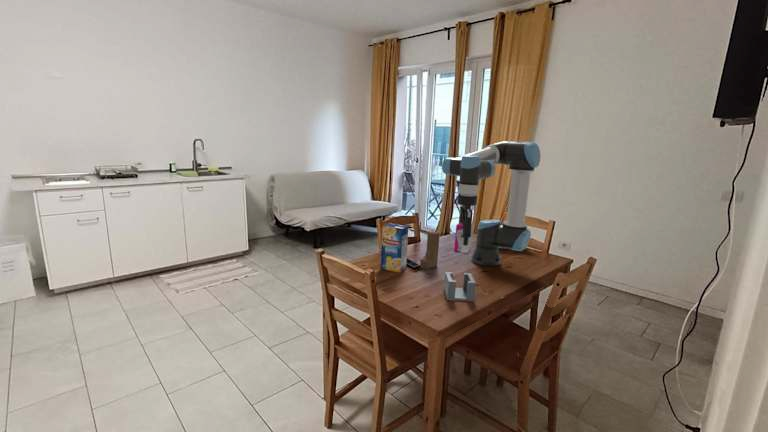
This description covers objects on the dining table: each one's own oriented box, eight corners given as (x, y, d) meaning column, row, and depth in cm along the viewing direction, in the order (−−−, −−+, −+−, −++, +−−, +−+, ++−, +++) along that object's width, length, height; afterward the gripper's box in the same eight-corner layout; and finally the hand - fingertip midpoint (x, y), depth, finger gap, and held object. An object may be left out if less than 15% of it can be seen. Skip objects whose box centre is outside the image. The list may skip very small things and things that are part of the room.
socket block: (469, 290, 161) (470, 273, 160) (474, 301, 151) (476, 283, 149) (443, 289, 162) (445, 271, 160) (447, 299, 151) (448, 281, 149)
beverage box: (400, 272, 179) (402, 228, 174) (380, 268, 184) (382, 225, 179) (406, 268, 185) (408, 226, 180) (386, 264, 190) (388, 222, 185)
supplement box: (470, 250, 154) (473, 223, 151) (467, 254, 148) (470, 226, 146) (457, 247, 156) (459, 221, 153) (453, 251, 151) (456, 224, 148)
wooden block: (426, 270, 184) (429, 235, 180) (419, 267, 187) (421, 233, 183) (437, 266, 190) (440, 232, 187) (430, 263, 193) (432, 230, 190)
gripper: (454, 190, 157) (450, 242, 162) (462, 198, 137) (457, 256, 142) (472, 191, 157) (467, 243, 162) (482, 199, 137) (476, 257, 142)
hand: (462, 249), depth 152 cm, fingers closed on supplement box, 7 cm apart
